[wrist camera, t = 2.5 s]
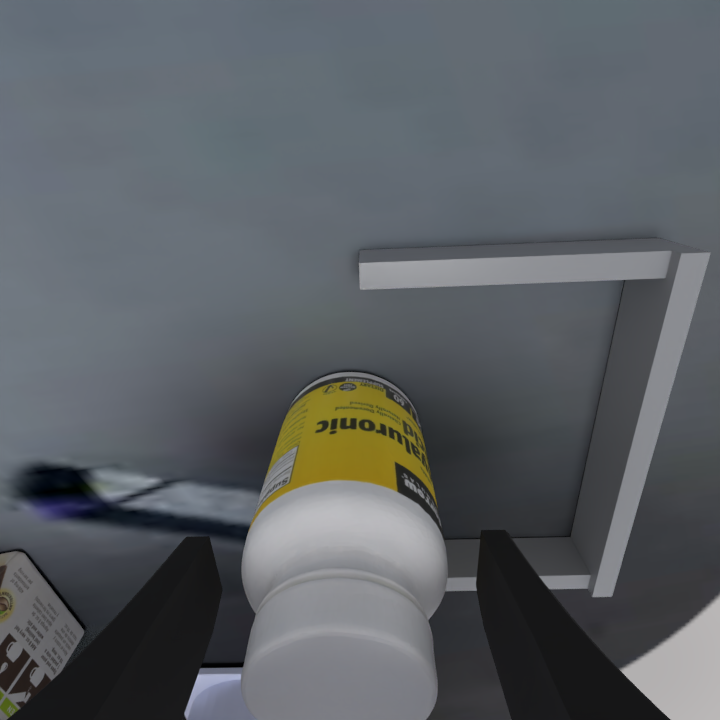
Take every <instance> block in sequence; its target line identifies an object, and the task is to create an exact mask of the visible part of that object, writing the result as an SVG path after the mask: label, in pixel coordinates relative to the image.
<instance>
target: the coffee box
mask: <svg viewBox="0 0 720 720" xmlns="http://www.w3.org/2000/svg"><path fill="white" fill-rule="evenodd" d="M83 635H84V630H83V628H82V627H81V626H80V624H79V623H78V622H77V620H76V619H75V618H74V617H73V615H72V614H71V613H70V612H69V610H68V609H67V608H66V606H65V605H64V604H63V602H62V601H61V600H60V599H59V597H58V596H57V595H56V594H55V592H54V591H53V590H52V588H51V587H50V585H49V584H48V583H47V582H46V580H45V579H44V578H43V577H42V575H41V574H40V573H39V571H38V570H37V569H36V568H35V566H34V565H33V564H32V562H31V561H30V560H29V558H28V557H27V556H26V554H25V553H22V552H18V551H14V552H9V553H3V554H0V720H7V719H8V718H9V717H11V716H12V715H13V714H14V713H15V712H17V711H18V710H19V709H20V708H21V707H22V706H24V705H25V704H26V703H27V702H28V701H29V700H30V699H32V698H33V697H34V696H35V695H36V694H37V693H39V692H40V691H41V690H42V689H43V688H44V687H45V686H46V685H47V684H48V683H50V682H51V681H52V680H53V679H54V678H55V677H56V676H57V675H58V674H59V673H60V672H61V671H62V670H63V668H64V666H65V665H66V663H67V661H68V660H69V658H70V656H71V654H72V653H73V651H74V650H75V648H76V647H77V645H78V643H79V642H80V640H81V638H82V636H83Z"/></svg>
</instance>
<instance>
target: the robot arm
mask: <svg viewBox="0 0 720 720" xmlns="http://www.w3.org/2000/svg"><path fill="white" fill-rule="evenodd" d="M476 589H477V594H478V599H479V605H480V610H481V615H482V620H483V625H484V629H485V632H486V636H487V639H488V642H489V646H490V649H491V653H492V656H493V659H494V663H495V666H496V669H497V673H498V676H499V679H500V682H501V686H502V689H503V692H504V696H505V699H506V702H507V706H508V709H509V712H510V716H511V719H512V720H670V719H669V718H668V717H667V716H666V715H665V714H664V713H663V712H661V711H660V710H659V709H658V708H657V707H656V706H655V705H654V704H653V703H652V702H651V701H650V700H649V699H648V698H647V697H646V696H645V695H644V694H643V693H642V692H641V691H640V690H639V689H638V688H637V687H636V686H635V685H634V684H633V683H632V682H631V681H630V680H629V679H628V678H627V677H626V676H625V675H624V674H623V673H622V672H621V671H620V670H619V669H618V668H617V667H616V666H615V665H614V664H613V663H612V662H611V661H610V660H609V658H608V657H607V656H606V655H605V654H604V653H603V652H602V651H601V650H600V649H599V648H598V647H597V645H596V644H595V643H594V642H593V641H592V640H591V639H590V638H589V636H588V635H587V634H586V633H585V632H584V631H583V630H582V628H581V627H580V626H579V625H578V624H577V623H576V622H575V620H574V619H573V618H572V617H571V616H570V614H569V613H568V612H567V611H566V610H565V608H564V607H563V606H562V605H561V603H560V602H559V601H558V600H557V598H556V597H555V596H554V595H553V593H552V592H551V591H550V590H549V589H548V587H547V586H546V585H545V583H544V582H543V581H542V579H541V578H540V577H539V576H538V574H537V573H536V571H535V570H534V569H533V567H532V566H531V565H530V563H529V562H528V561H527V559H526V558H525V557H524V555H523V554H522V552H521V551H520V549H519V548H518V547H517V545H516V544H515V542H514V541H513V539H512V538H511V536H510V535H509V533H508V532H506V531H505V530H481V537H480V547H479V557H478V568H477V578H476ZM221 594H222V586H221V582H220V578H219V574H218V570H217V566H216V562H215V558H214V554H213V550H212V546H211V542H210V538H209V536H205V537H186V538H185V539H184V540H183V541H182V542H181V543H180V545H179V546H178V547H177V548H176V549H175V550H174V552H173V553H172V554H171V555H170V556H169V557H168V559H167V560H166V561H165V562H164V563H163V564H162V566H161V567H160V568H159V569H158V570H157V571H156V573H155V574H154V575H153V576H152V577H151V578H150V579H149V581H148V582H147V583H146V584H145V585H144V586H143V587H142V589H141V590H140V591H139V592H138V593H137V594H136V595H135V596H134V597H133V599H132V600H131V601H130V602H129V603H128V604H127V605H126V606H125V607H124V609H123V610H122V611H121V612H120V613H119V614H118V615H117V616H116V617H115V618H114V619H113V620H112V621H111V622H110V623H109V625H108V626H107V627H106V628H105V629H104V630H103V631H102V632H101V633H100V634H99V635H98V636H97V637H96V638H95V639H94V640H93V641H92V642H91V643H90V644H89V645H88V646H87V647H86V648H85V649H84V650H83V651H82V652H81V653H80V654H79V655H78V656H77V657H76V658H75V659H74V660H73V661H72V662H71V663H70V664H69V665H68V666H67V667H66V668H65V669H64V670H63V671H61V672H60V673H59V674H58V675H57V676H56V677H55V678H54V679H53V680H52V681H51V682H50V683H48V684H47V685H46V686H45V687H44V688H43V689H42V690H41V691H40V692H39V693H37V694H36V695H35V696H34V697H33V698H32V699H30V700H29V701H28V702H27V703H26V704H25V705H24V706H22V707H21V708H20V709H19V710H18V711H17V712H15V713H14V714H13V715H12V716H11V717H9V718H8V719H7V720H182V719H183V716H184V714H185V717H186V719H187V720H257V719H256V718H255V717H254V716H253V715H252V714H251V713H250V711H249V710H248V708H247V707H246V705H245V702H244V700H243V697H242V693H241V674H242V670H243V667H237V668H200V667H201V665H202V662H203V659H204V656H205V653H206V650H207V647H208V644H209V641H210V638H211V635H212V632H213V629H214V624H215V620H216V616H217V612H218V608H219V603H220V598H221Z"/></svg>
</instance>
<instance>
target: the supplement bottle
mask: <svg viewBox="0 0 720 720" xmlns="http://www.w3.org/2000/svg"><path fill="white" fill-rule="evenodd" d="M241 573H242V582H243V587H244V590H245V593H246V596H247V599H248V601H249V603H250V605H251V607H252V609H253V610H254V612H255V613H256V615H255V620H254V623H253V625H252V628H251V633H250V637H249V641H248V646H247V651H246V656H245V661H244V665H243V670H242V674H241V693H242V697H243V700H244V702H245V705H246V707H247V708H248V710H249V711H250V713H251V714H252V715H253V716H254V717H255V718H256V719H257V720H426V719H427V718H428V716H429V715H430V713H431V712H432V710H433V708H434V706H435V703H436V700H437V693H438V681H437V674H436V666H435V658H434V650H433V637H432V632H431V628H430V625H429V621H428V620H429V619H430V617H431V616H432V615H433V614H434V612H435V611H436V609H437V608H438V606H439V605H440V602H441V600H442V598H443V596H444V592H445V589H446V584H447V577H448V562H447V554H446V546H445V541H444V534H443V530H442V525H441V521H440V517H439V512H438V507H437V502H436V498H435V492H434V487H433V483H432V478H431V473H430V468H429V463H428V457H427V453H426V449H425V444H424V438H423V433H422V429H421V426H420V422H419V419H418V416H417V413H416V411H415V409H414V407H413V405H412V403H411V402H410V400H409V399H408V398H407V397H406V395H405V394H404V393H403V392H402V391H401V390H399V389H398V388H397V387H396V386H394V385H393V384H391V383H390V382H388V381H386V380H384V379H382V378H380V377H377V376H374V375H370V374H366V373H359V372H343V373H335V374H331V375H328V376H325V377H322V378H320V379H318V380H316V381H314V382H313V383H311V384H310V385H308V386H307V387H306V388H305V389H303V390H302V391H301V392H300V393H299V394H298V396H297V397H296V398H295V399H294V401H293V402H292V404H291V405H290V407H289V410H288V412H287V414H286V417H285V419H284V422H283V425H282V428H281V431H280V434H279V437H278V440H277V443H276V447H275V450H274V453H273V456H272V459H271V462H270V465H269V468H268V472H267V475H266V478H265V481H264V485H263V488H262V491H261V494H260V497H259V501H258V504H257V507H256V510H255V513H254V516H253V519H252V522H251V525H250V528H249V532H248V535H247V538H246V542H245V546H244V550H243V556H242V564H241Z"/></svg>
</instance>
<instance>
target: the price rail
mask: <svg viewBox="0 0 720 720" xmlns="http://www.w3.org/2000/svg"><path fill="white" fill-rule="evenodd" d="M710 253H711V252H708V251H704V250H700V249H697V248H693V247H689V246H686V245H682V244H679V243H675V242H671V241H668V240H664V239H661V238H646V239H621V240H596V241H571V242H546V243H521V244H497V245H472V246H447V247H422V248H397V249H372V250H360V253H359V277H360V290H368V289H394V288H421V287H447V286H474V285H500V284H527V283H553V282H580V281H606V280H625V283H624V288H623V292H622V297H621V302H620V306H619V311H618V316H617V321H616V325H615V330H614V335H613V339H612V344H611V349H610V354H609V358H608V363H607V368H606V372H605V377H604V382H603V386H602V391H601V396H600V401H599V405H598V410H597V415H596V419H595V424H594V429H593V433H592V438H591V443H590V448H589V452H588V457H587V462H586V466H585V471H584V476H583V481H582V485H581V490H580V495H579V499H578V504H577V509H576V513H575V518H574V523H573V528H572V532H571V537H547V538H512V539H513V541H514V542H515V544H516V545H517V547H518V548H519V549H520V551H521V552H522V554H523V555H524V557H525V558H526V559H527V561H528V562H529V563H530V565H531V566H532V567H533V569H534V570H535V571H536V573H537V574H538V576H539V577H540V578H541V579H542V581H543V582H544V583H545V585H546V586H547V587H548V589H584V588H588V590H589V592H590V594H591V596H592V597H612V594H613V591H614V588H615V584H616V581H617V577H618V574H619V570H620V567H621V563H622V560H623V556H624V553H625V549H626V546H627V542H628V539H629V535H630V532H631V528H632V525H633V521H634V518H635V514H636V511H637V507H638V504H639V501H640V497H641V494H642V490H643V487H644V483H645V480H646V476H647V473H648V469H649V466H650V462H651V459H652V455H653V452H654V448H655V445H656V441H657V438H658V434H659V431H660V427H661V424H662V420H663V417H664V414H665V410H666V407H667V403H668V400H669V396H670V393H671V389H672V386H673V382H674V379H675V375H676V372H677V368H678V365H679V361H680V358H681V354H682V351H683V347H684V344H685V340H686V337H687V333H688V330H689V327H690V323H691V320H692V316H693V313H694V309H695V306H696V302H697V299H698V295H699V292H700V288H701V285H702V281H703V278H704V274H705V271H706V267H707V264H708V260H709V257H710ZM444 541H445V546H446V554H447V562H448V577H447V584H446V589H445V591H477V589H476V578H477V568H478V557H479V547H480V539H457V540H444Z"/></svg>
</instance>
